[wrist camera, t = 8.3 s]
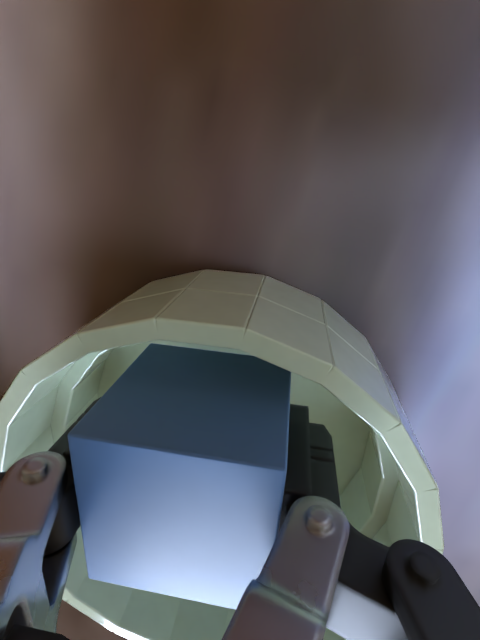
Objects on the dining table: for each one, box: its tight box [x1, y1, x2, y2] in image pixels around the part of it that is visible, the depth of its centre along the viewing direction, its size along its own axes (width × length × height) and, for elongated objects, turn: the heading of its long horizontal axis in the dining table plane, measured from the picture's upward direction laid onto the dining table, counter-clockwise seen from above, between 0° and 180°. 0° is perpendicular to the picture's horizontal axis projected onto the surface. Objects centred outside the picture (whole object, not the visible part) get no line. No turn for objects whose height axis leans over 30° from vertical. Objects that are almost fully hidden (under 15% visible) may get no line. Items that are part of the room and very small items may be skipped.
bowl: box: [0, 269, 444, 640], centre depth 13 cm, size 14×14×6 cm
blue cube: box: [67, 343, 291, 610], centre depth 10 cm, size 5×5×5 cm
